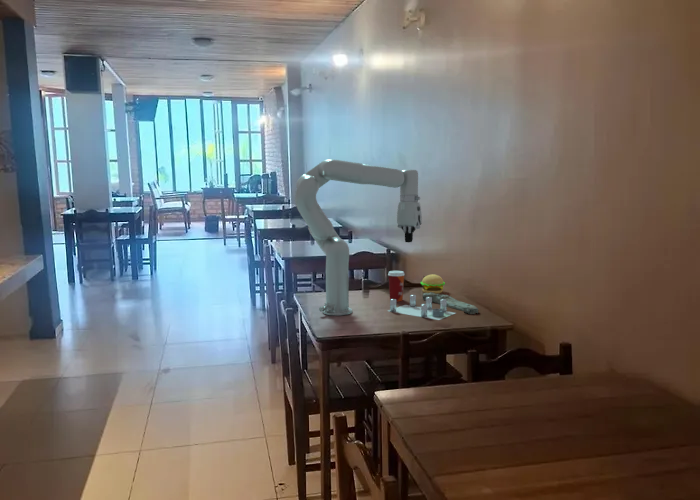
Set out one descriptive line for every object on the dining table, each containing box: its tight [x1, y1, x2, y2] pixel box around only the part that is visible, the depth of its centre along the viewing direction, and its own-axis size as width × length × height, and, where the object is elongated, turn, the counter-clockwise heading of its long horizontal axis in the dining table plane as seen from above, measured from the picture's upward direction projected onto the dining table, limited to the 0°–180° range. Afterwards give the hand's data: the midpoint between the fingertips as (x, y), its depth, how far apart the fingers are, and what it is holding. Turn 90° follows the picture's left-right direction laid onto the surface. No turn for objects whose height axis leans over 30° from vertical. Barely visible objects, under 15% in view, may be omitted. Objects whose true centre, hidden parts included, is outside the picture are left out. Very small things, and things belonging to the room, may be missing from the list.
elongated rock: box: [421, 292, 479, 315], centre depth 259 cm, size 35×5×10 cm
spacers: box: [389, 294, 448, 318], centre depth 246 cm, size 15×20×5 cm
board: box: [387, 304, 456, 321], centre depth 245 cm, size 14×25×1 cm, turn 52°
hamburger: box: [420, 273, 446, 294], centre depth 288 cm, size 12×12×9 cm
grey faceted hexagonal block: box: [432, 308, 444, 317], centre depth 238 cm, size 4×5×2 cm
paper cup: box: [387, 270, 406, 302], centre depth 267 cm, size 8×8×14 cm
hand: (408, 241), depth 251 cm, fingers closed
